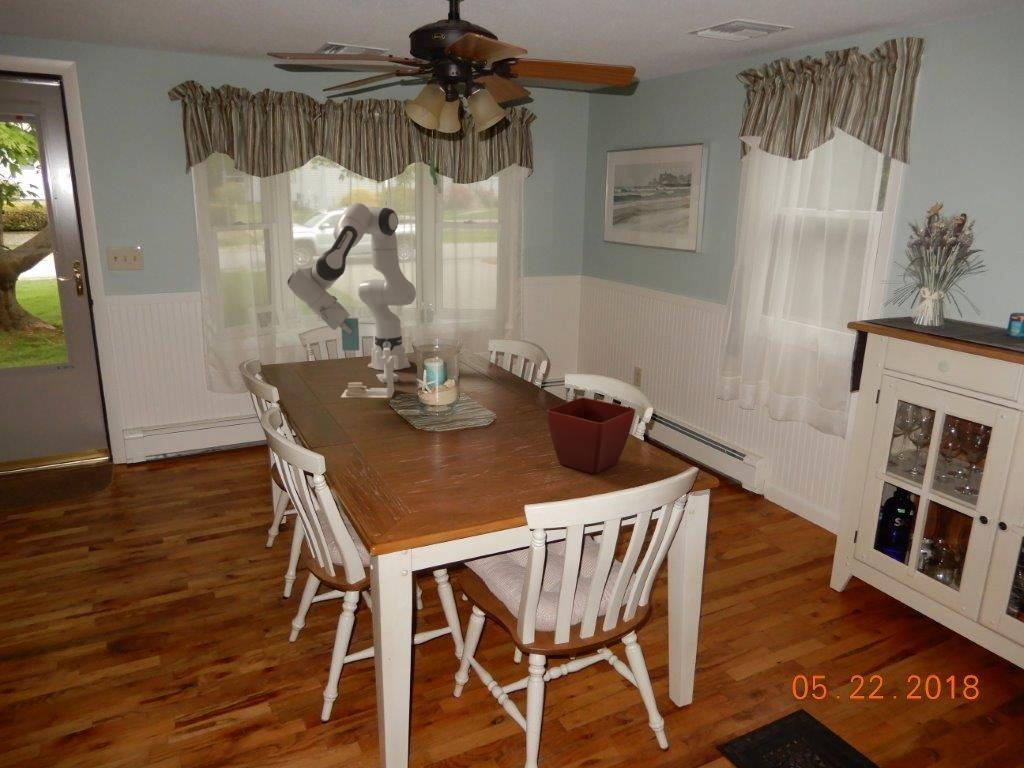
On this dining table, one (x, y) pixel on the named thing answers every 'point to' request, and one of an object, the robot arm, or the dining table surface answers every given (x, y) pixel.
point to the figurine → (383, 361)
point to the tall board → (351, 335)
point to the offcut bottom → (357, 392)
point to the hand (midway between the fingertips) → (351, 331)
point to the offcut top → (355, 386)
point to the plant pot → (589, 433)
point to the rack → (380, 391)
